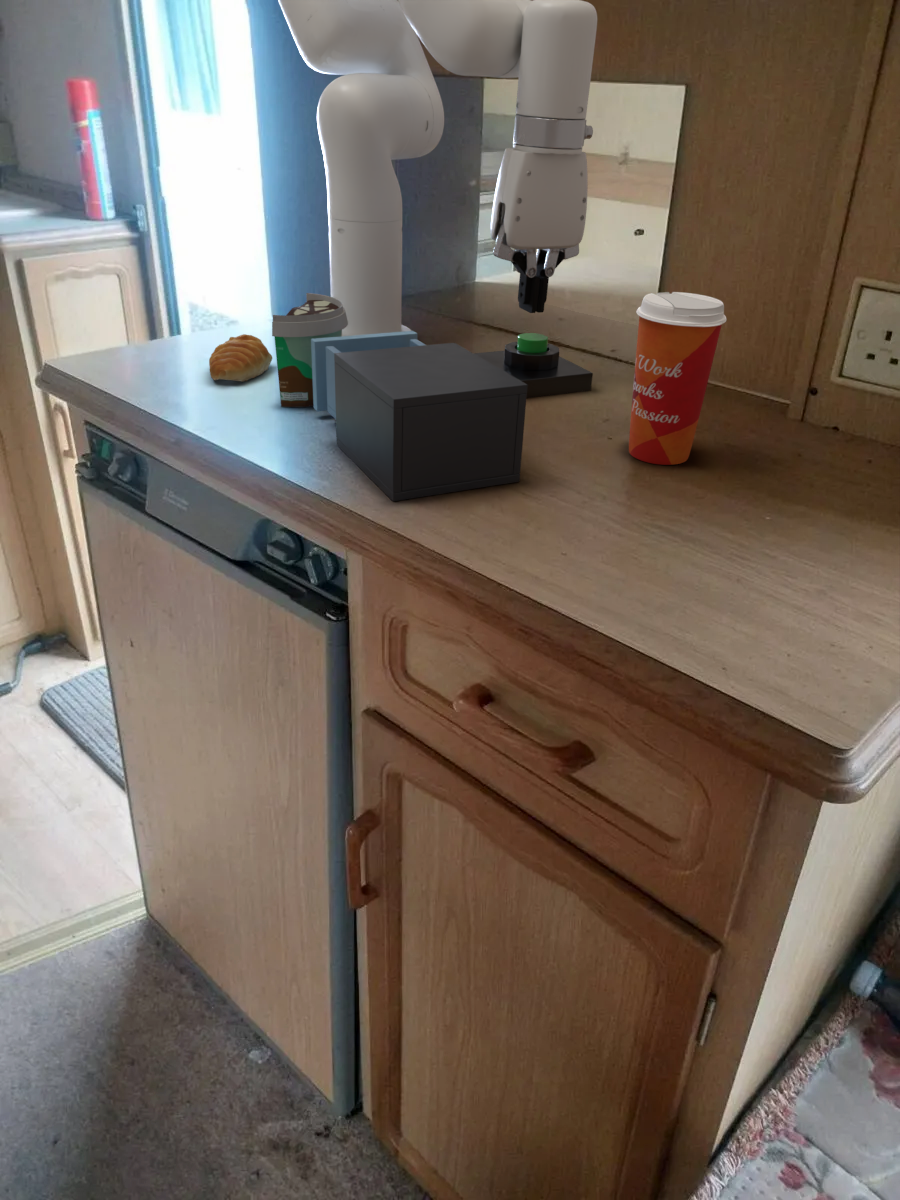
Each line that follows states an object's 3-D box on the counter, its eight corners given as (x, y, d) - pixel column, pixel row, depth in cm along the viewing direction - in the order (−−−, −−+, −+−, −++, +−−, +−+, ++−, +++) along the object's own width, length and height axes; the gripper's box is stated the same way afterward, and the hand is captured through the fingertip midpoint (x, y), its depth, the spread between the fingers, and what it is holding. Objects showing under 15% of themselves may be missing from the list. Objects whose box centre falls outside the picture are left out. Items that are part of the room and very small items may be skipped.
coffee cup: (601, 444, 93) (621, 292, 86) (668, 435, 96) (693, 288, 88) (648, 474, 86) (673, 312, 79) (718, 464, 89) (749, 307, 82)
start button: (511, 348, 110) (512, 334, 109) (537, 346, 112) (538, 331, 111) (526, 356, 107) (527, 341, 107) (552, 353, 109) (553, 339, 108)
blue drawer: (297, 392, 101) (294, 326, 97) (393, 383, 105) (393, 318, 102) (358, 451, 86) (357, 375, 83) (466, 437, 91) (469, 364, 87)
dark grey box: (336, 444, 90) (334, 353, 86) (451, 430, 95) (454, 342, 90) (393, 501, 79) (393, 399, 74) (519, 481, 84) (527, 384, 79)
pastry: (253, 387, 105) (251, 354, 103) (196, 384, 105) (192, 351, 103) (275, 365, 113) (273, 334, 111) (221, 362, 113) (218, 331, 111)
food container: (331, 416, 97) (329, 320, 92) (276, 410, 98) (270, 316, 93) (361, 383, 108) (360, 296, 103) (311, 378, 109) (308, 291, 104)
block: (470, 370, 114) (472, 338, 112) (539, 364, 118) (542, 332, 116) (517, 399, 105) (520, 365, 103) (590, 391, 109) (594, 357, 107)
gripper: (588, 134, 104) (567, 299, 113) (471, 131, 98) (460, 305, 107) (626, 141, 98) (601, 314, 108) (504, 138, 92) (489, 321, 102)
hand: (530, 309), depth 107 cm, fingers closed
